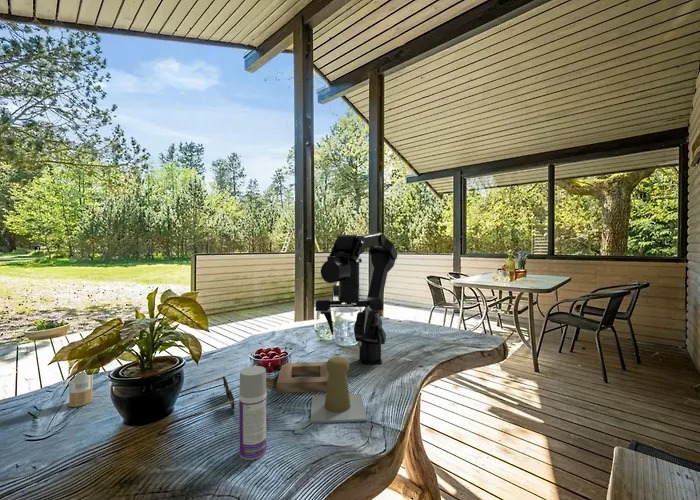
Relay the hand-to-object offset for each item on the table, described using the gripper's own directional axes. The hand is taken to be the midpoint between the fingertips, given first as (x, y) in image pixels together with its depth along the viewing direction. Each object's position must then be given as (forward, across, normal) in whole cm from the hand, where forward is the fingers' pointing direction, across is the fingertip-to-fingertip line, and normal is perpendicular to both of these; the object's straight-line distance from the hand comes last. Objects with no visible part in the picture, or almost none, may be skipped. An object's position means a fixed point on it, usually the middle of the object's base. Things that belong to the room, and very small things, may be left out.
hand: (348, 334), depth 95 cm
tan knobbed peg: (+12, +4, +18) cm, 22 cm away
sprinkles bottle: (+12, +64, +11) cm, 66 cm away
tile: (+12, +4, +18) cm, 22 cm away
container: (+12, +20, +33) cm, 40 cm away
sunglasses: (+13, +36, +17) cm, 42 cm away
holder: (+12, +12, +2) cm, 17 cm away
